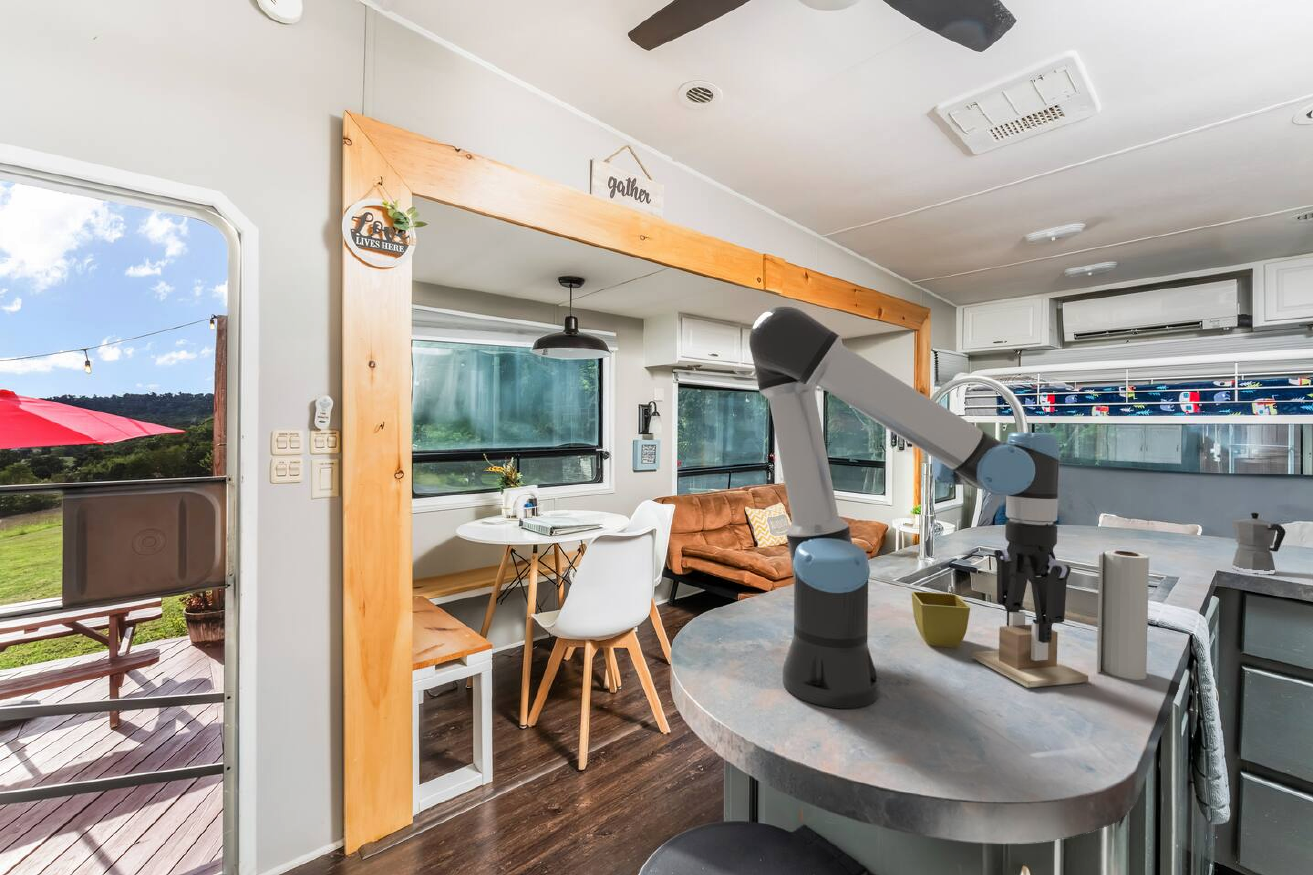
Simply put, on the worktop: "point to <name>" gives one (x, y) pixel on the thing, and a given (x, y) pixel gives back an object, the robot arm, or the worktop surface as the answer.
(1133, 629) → the paper towel roll
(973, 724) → the worktop surface
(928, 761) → the worktop surface
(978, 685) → the worktop surface
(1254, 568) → the coffeepot
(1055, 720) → the worktop surface
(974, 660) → the mat
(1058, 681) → the lid
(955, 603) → the flower pot
